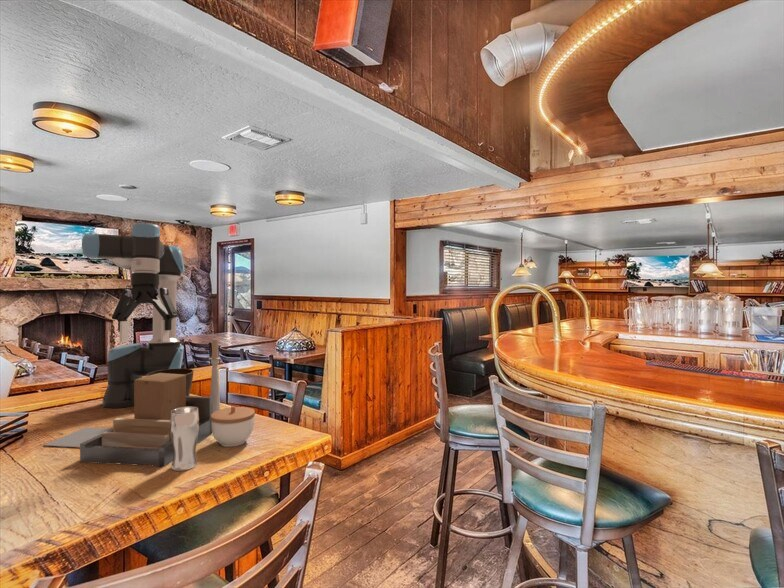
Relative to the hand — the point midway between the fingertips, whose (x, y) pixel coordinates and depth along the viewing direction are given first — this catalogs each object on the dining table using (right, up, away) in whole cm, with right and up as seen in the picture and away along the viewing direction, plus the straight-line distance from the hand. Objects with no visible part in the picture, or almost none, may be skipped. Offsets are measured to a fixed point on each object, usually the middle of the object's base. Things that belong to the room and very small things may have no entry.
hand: (144, 342), depth 125 cm
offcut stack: (+4, -31, -10) cm, 33 cm away
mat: (-19, -30, +2) cm, 36 cm away
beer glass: (+21, -31, -16) cm, 41 cm away
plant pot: (-5, -30, +24) cm, 39 cm away
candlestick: (+15, -31, +16) cm, 37 cm away
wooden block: (+5, -31, 0) cm, 31 cm away
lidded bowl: (+27, -31, 0) cm, 41 cm away
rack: (+5, -31, -4) cm, 31 cm away
